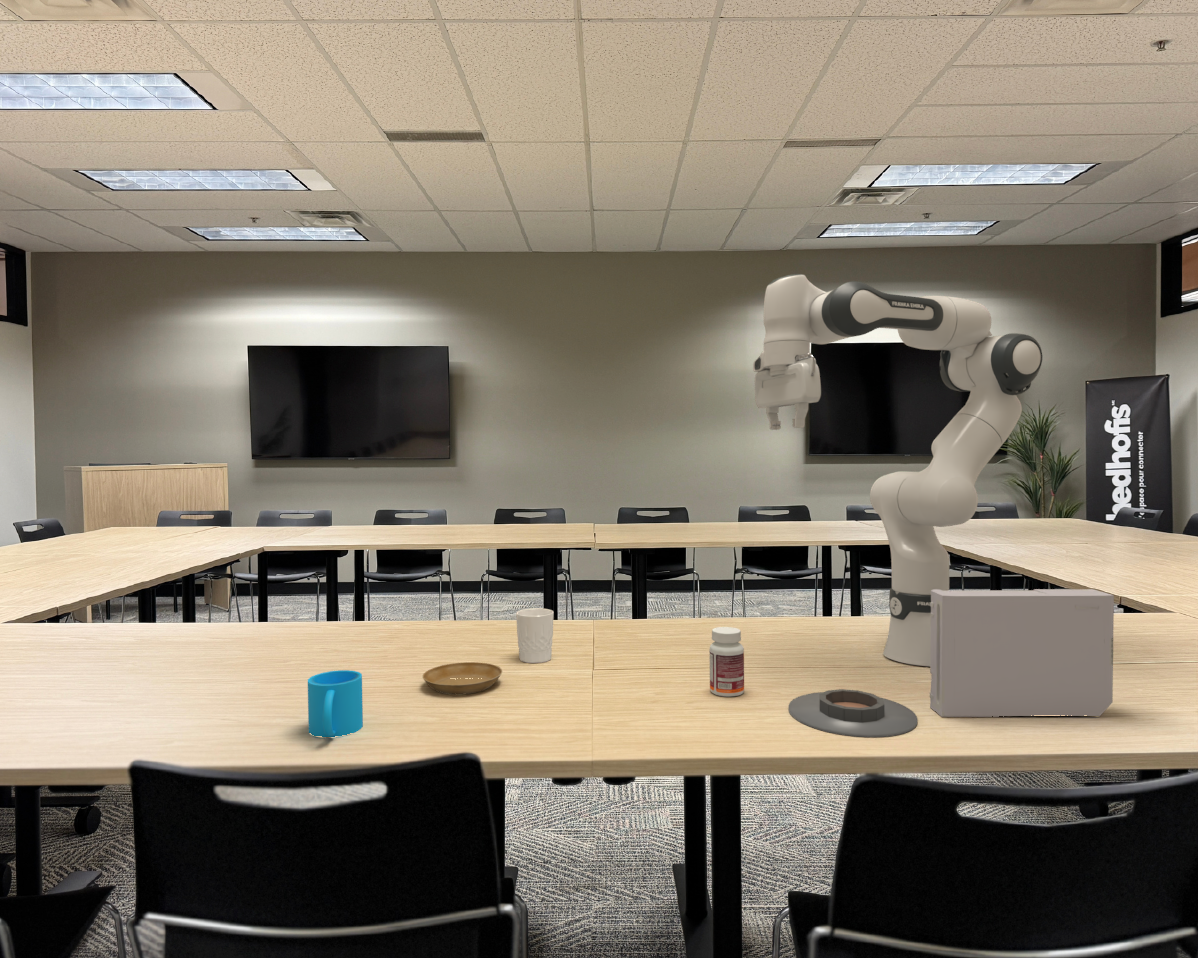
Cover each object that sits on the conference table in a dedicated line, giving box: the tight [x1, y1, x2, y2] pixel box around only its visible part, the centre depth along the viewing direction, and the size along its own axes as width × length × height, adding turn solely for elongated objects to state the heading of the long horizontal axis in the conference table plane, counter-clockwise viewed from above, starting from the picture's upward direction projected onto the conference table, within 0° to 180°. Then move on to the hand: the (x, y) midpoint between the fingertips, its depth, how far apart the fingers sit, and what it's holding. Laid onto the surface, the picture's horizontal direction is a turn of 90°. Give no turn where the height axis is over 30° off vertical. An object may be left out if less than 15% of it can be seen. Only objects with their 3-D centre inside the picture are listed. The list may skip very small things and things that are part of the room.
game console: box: [929, 588, 1115, 718], centre depth 121 cm, size 6×27×20 cm, turn 88°
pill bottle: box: [709, 626, 745, 698], centre depth 133 cm, size 6×6×11 cm
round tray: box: [788, 688, 918, 738], centre depth 121 cm, size 20×20×2 cm
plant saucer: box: [422, 661, 503, 695], centre depth 138 cm, size 15×15×3 cm
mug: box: [307, 669, 364, 737], centre depth 115 cm, size 12×8×8 cm
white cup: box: [515, 607, 554, 664], centre depth 156 cm, size 8×8×10 cm
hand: (786, 428), depth 145 cm, fingers open, 8 cm apart
